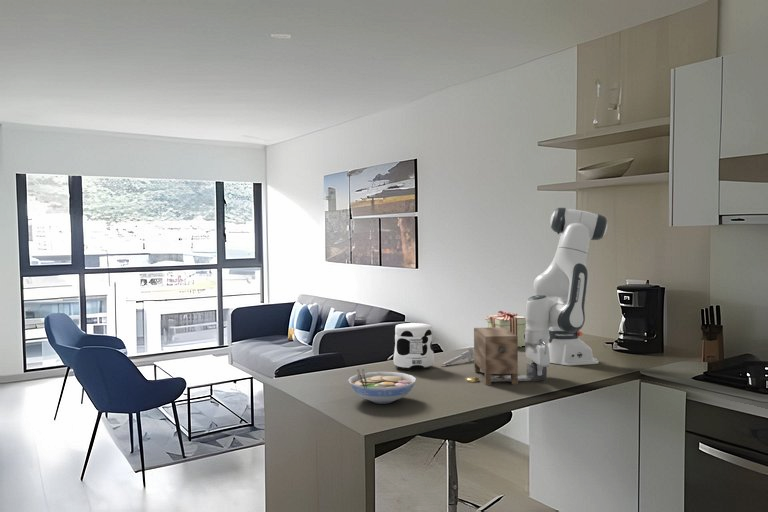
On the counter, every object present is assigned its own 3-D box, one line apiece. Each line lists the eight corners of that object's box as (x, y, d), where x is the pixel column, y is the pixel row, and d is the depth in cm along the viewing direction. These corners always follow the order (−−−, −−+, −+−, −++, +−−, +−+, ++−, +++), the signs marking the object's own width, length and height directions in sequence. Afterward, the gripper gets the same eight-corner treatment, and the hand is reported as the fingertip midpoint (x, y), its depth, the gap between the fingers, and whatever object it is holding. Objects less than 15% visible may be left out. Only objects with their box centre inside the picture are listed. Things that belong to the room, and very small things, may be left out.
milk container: (412, 362, 258) (412, 321, 257) (442, 367, 245) (442, 325, 245) (384, 368, 246) (384, 325, 245) (414, 374, 233) (414, 330, 233)
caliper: (472, 360, 261) (471, 346, 261) (473, 361, 260) (473, 347, 260) (440, 367, 248) (440, 352, 248) (442, 367, 247) (442, 352, 247)
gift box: (480, 344, 300) (480, 311, 300) (511, 342, 307) (511, 309, 306) (498, 350, 284) (497, 315, 284) (530, 347, 291) (530, 313, 290)
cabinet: (503, 371, 238) (503, 327, 237) (518, 385, 215) (518, 336, 214) (474, 371, 237) (473, 327, 237) (486, 385, 214) (486, 337, 214)
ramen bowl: (421, 410, 183) (421, 384, 183) (349, 413, 182) (348, 386, 181) (411, 390, 208) (411, 367, 208) (347, 392, 206) (347, 369, 206)
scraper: (541, 376, 228) (541, 361, 228) (548, 381, 219) (548, 366, 219) (486, 377, 228) (486, 361, 227) (490, 382, 219) (490, 366, 218)
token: (477, 379, 225) (477, 376, 225) (480, 383, 220) (480, 379, 220) (464, 380, 225) (464, 377, 225) (467, 383, 220) (467, 380, 220)
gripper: (554, 342, 213) (554, 379, 213) (537, 333, 233) (537, 367, 234) (537, 342, 213) (537, 380, 213) (522, 333, 233) (522, 367, 234)
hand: (537, 373), depth 224 cm, fingers closed on scraper, 3 cm apart
